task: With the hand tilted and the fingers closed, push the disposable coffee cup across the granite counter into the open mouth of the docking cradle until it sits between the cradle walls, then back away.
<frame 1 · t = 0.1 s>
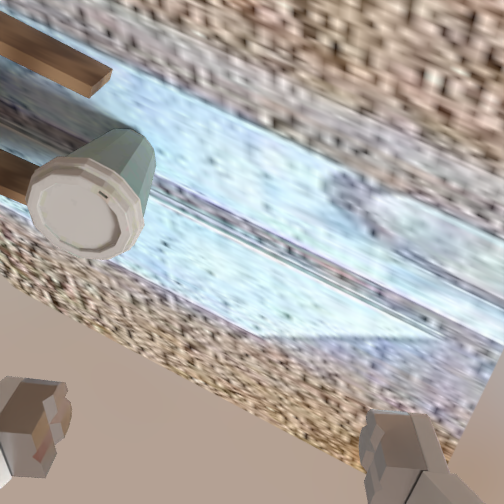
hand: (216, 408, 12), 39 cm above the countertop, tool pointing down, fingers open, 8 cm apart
disposable coffee cup: (126, 151, 50), on the countertop
dock cradle: (39, 110, 47), on the countertop
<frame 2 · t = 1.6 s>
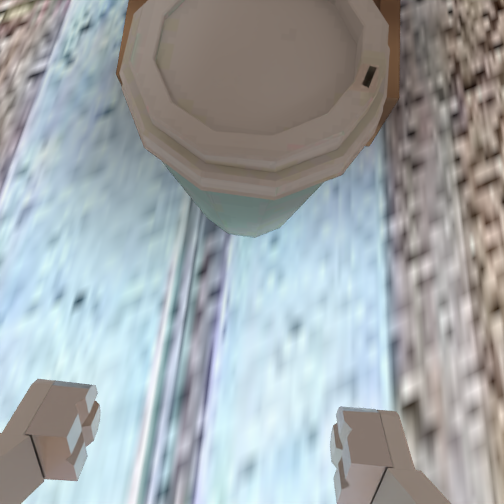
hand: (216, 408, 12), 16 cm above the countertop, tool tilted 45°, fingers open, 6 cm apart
disposable coffee cup: (250, 190, 30), on the countertop
dock cradle: (261, 62, 32), on the countertop
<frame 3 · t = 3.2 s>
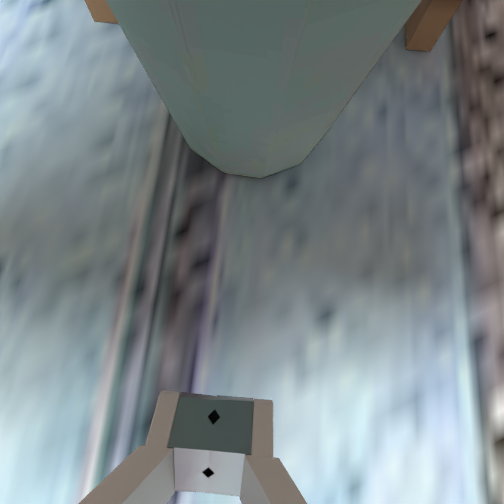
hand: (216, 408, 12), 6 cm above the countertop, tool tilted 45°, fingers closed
disposable coffee cup: (255, 112, 20), on the countertop
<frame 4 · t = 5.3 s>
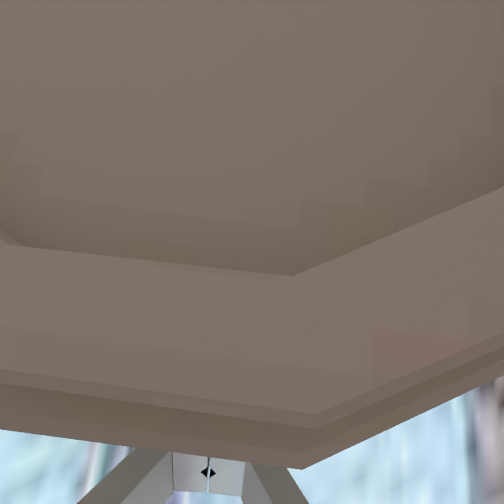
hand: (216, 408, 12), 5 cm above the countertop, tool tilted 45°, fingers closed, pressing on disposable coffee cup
disposable coffee cup: (236, 245, 18), on the countertop, touching gripper
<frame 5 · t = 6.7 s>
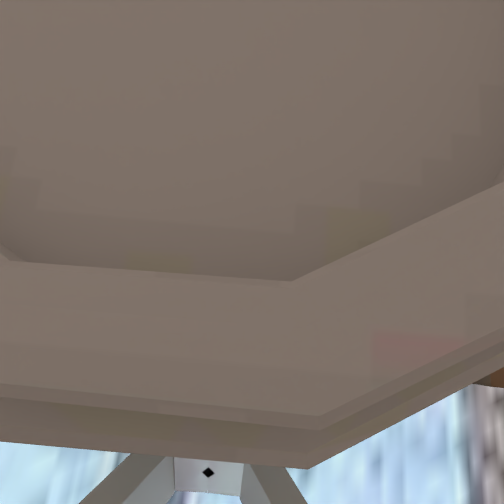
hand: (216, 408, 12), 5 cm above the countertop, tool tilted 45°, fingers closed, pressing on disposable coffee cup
disposable coffee cup: (233, 246, 18), on the countertop, touching gripper
dock cradle: (246, 212, 18), on the countertop
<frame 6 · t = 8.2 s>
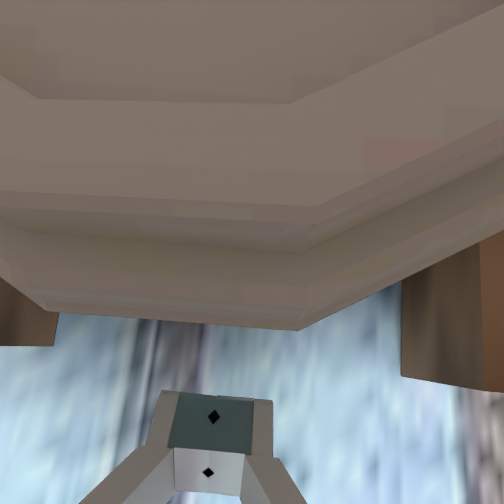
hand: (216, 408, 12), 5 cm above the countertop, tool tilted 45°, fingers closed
disposable coffee cup: (232, 219, 19), on the countertop
dock cradle: (240, 218, 18), on the countertop
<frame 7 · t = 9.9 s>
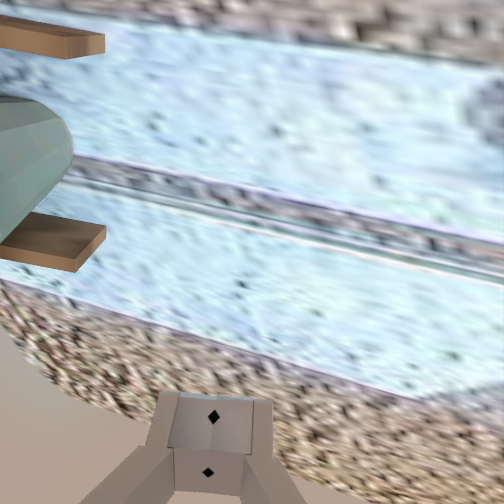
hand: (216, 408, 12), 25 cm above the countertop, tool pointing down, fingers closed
disposable coffee cup: (33, 138, 34), on the countertop
dock cradle: (31, 134, 34), on the countertop
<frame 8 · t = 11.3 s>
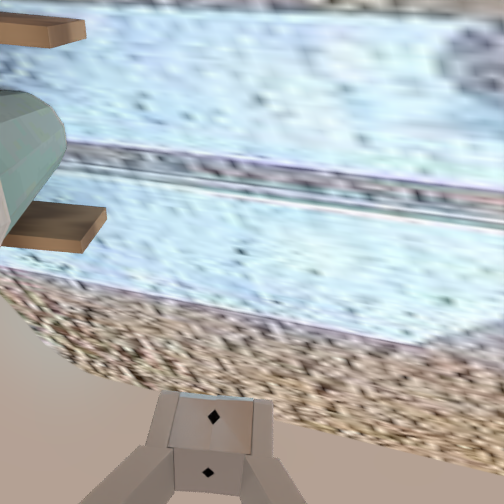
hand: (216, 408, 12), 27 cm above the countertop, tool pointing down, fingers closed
disposable coffee cup: (27, 128, 36), on the countertop
dock cradle: (24, 125, 35), on the countertop
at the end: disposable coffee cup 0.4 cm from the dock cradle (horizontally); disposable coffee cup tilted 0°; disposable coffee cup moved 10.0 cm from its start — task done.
